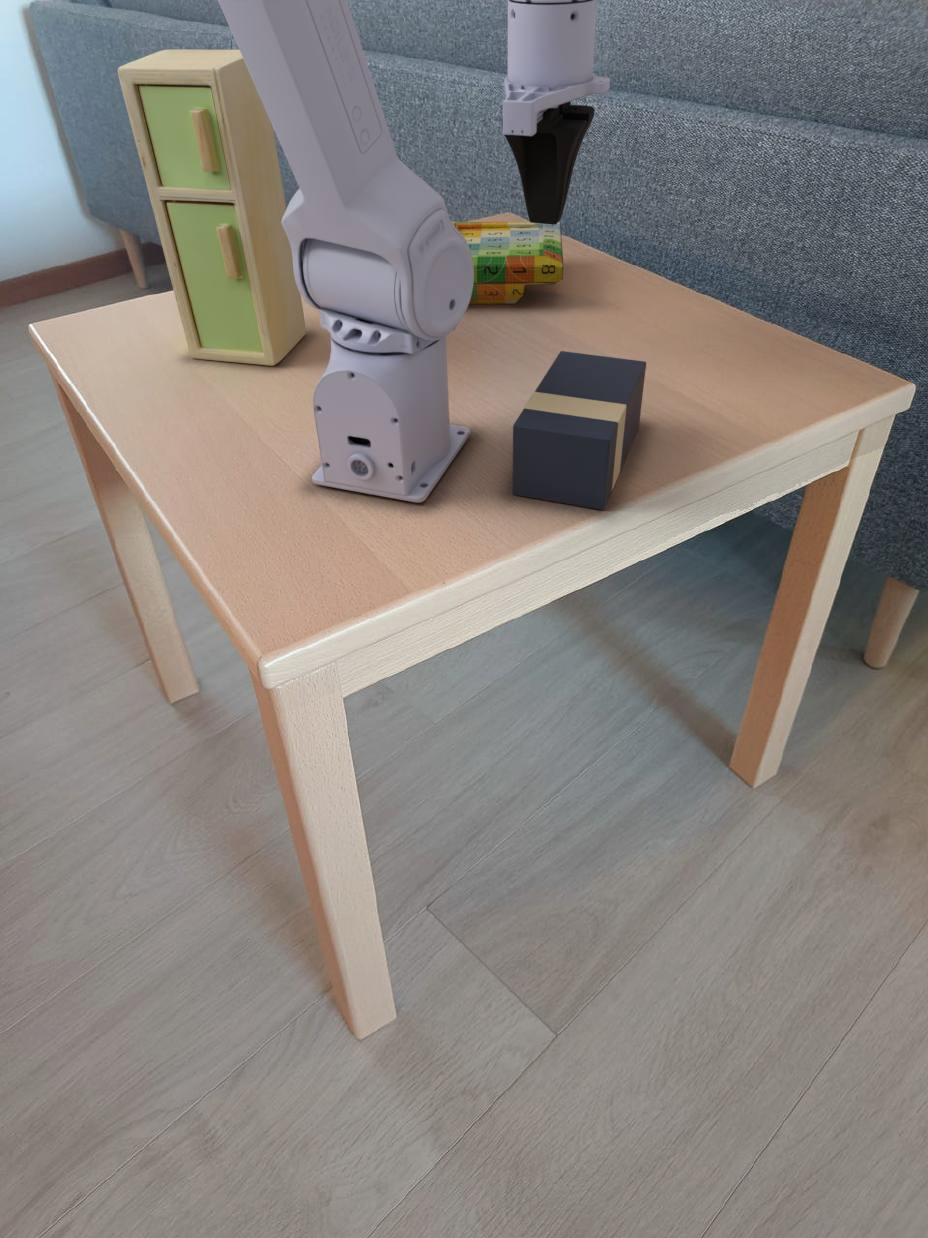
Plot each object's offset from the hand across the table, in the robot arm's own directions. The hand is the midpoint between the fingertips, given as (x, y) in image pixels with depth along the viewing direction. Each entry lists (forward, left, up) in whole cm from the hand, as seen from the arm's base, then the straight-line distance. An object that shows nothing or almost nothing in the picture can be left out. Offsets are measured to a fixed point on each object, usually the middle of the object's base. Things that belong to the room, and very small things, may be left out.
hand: (545, 220), depth 66 cm
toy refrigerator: (-6, +24, -11) cm, 27 cm away
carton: (-10, -7, -8) cm, 14 cm away
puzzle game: (+12, +12, -11) cm, 20 cm away
